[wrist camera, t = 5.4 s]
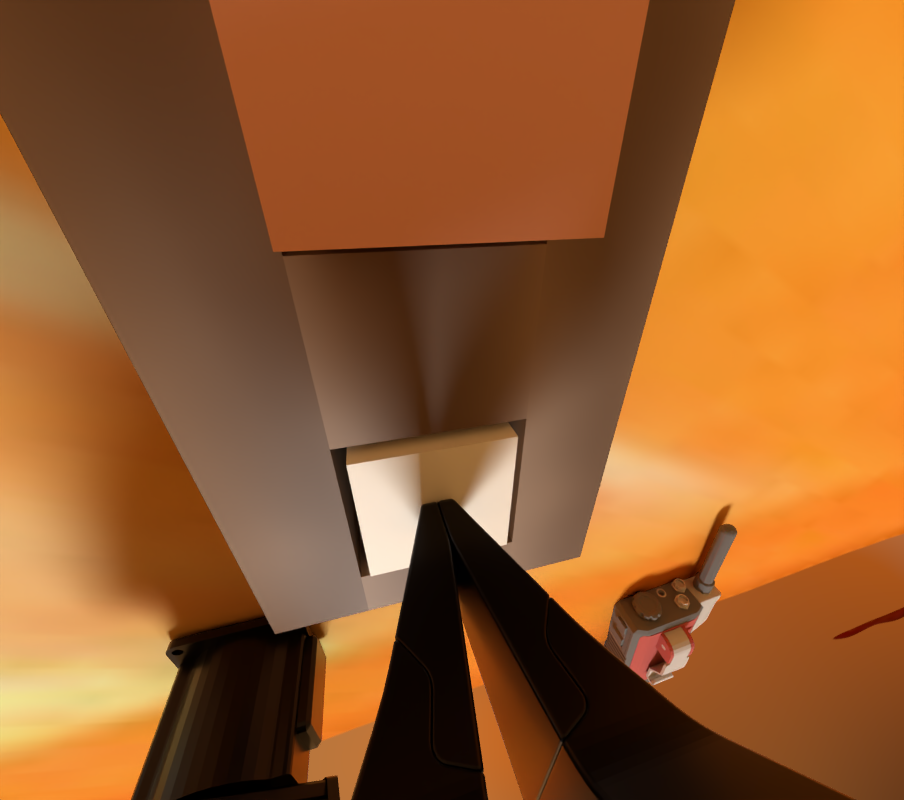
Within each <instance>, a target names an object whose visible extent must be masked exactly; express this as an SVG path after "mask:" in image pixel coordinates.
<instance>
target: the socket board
mask: <svg viewBox="0 0 904 800" xmlns="http://www.w3.org/2000/svg"><path fill="white" fill-rule="evenodd" d="M734 3H735V0H649V6H648V11H647V16H646V21H645V27H644V32H643V37H642V42H641V47H640V53H639V58H638V63H637V68H636V73H635V79H634V84H633V89H632V94H631V99H630V105H629V110H628V115H627V120H626V125H625V131H624V136H623V141H622V146H621V151H620V157H619V162H618V167H617V172H616V178H615V183H614V188H613V193H612V198H611V204H610V209H609V214H608V219H607V224H606V230H605V235H604V238H585V239H562V240H539V241H516V242H493V243H470V244H447V245H424V246H401V247H378V248H354V249H331V250H308V251H285V252H273V249H272V245H271V241H270V237H269V234H268V230H267V226H266V222H265V218H264V214H263V210H262V206H261V202H260V198H259V194H258V190H257V187H256V183H255V179H254V175H253V171H252V167H251V163H250V159H249V155H248V151H247V147H246V143H245V140H244V136H243V132H242V128H241V124H240V120H239V116H238V112H237V108H236V104H235V100H234V96H233V93H232V89H231V85H230V81H229V77H228V73H227V69H226V65H225V61H224V57H223V53H222V49H221V46H220V42H219V38H218V34H217V30H216V26H215V22H214V18H213V14H212V10H211V6H210V2H209V0H0V114H1V116H2V118H3V119H4V121H5V123H6V125H7V127H8V129H9V131H10V133H11V135H12V137H13V138H14V140H15V142H16V144H17V146H18V148H19V150H20V152H21V154H22V155H23V157H24V159H25V161H26V163H27V165H28V167H29V169H30V171H31V173H32V174H33V176H34V178H35V180H36V182H37V184H38V186H39V188H40V190H41V191H42V193H43V195H44V197H45V199H46V201H47V203H48V205H49V207H50V209H51V210H52V212H53V214H54V216H55V218H56V220H57V222H58V224H59V226H60V227H61V229H62V231H63V233H64V235H65V237H66V239H67V241H68V243H69V245H70V246H71V248H72V250H73V252H74V254H75V256H76V258H77V260H78V262H79V264H80V265H81V267H82V269H83V271H84V273H85V275H86V277H87V279H88V281H89V282H90V284H91V286H92V288H93V290H94V292H95V294H96V296H97V298H98V300H99V301H100V303H101V305H102V307H103V309H104V311H105V313H106V315H107V317H108V318H109V320H110V322H111V324H112V326H113V328H114V330H115V332H116V334H117V336H118V337H119V339H120V341H121V343H122V345H123V347H124V349H125V351H126V353H127V354H128V356H129V358H130V360H131V362H132V364H133V366H134V368H135V370H136V372H137V373H138V375H139V377H140V379H141V381H142V383H143V385H144V387H145V389H146V390H147V392H148V394H149V396H150V398H151V400H152V402H153V404H154V406H155V408H156V409H157V411H158V413H159V415H160V417H161V419H162V421H163V423H164V425H165V426H166V428H167V430H168V432H169V434H170V436H171V438H172V440H173V442H174V444H175V445H176V447H177V449H178V451H179V453H180V455H181V457H182V459H183V461H184V462H185V464H186V466H187V468H188V470H189V472H190V474H191V476H192V478H193V480H194V481H195V483H196V485H197V487H198V489H199V491H200V493H201V495H202V497H203V498H204V500H205V502H206V504H207V506H208V508H209V510H210V512H211V514H212V516H213V517H214V519H215V521H216V523H217V525H218V527H219V529H220V531H221V533H222V534H223V536H224V538H225V540H226V542H227V544H228V546H229V548H230V550H231V552H232V553H233V555H234V557H235V559H236V561H237V563H238V565H239V567H240V569H241V570H242V572H243V574H244V576H245V578H246V580H247V582H248V584H249V586H250V588H251V589H252V591H253V593H254V595H255V597H256V599H257V601H258V603H259V605H260V606H261V608H262V610H263V612H264V614H265V616H266V618H267V620H268V622H269V624H270V625H271V627H272V629H273V631H274V633H275V634H278V633H282V632H286V631H290V630H294V629H298V628H302V627H306V626H310V625H314V624H317V623H321V622H325V621H329V620H333V619H337V618H341V617H345V616H349V615H353V614H357V613H361V612H365V611H369V610H372V609H376V608H380V607H384V606H388V605H392V604H396V603H400V602H402V601H403V596H404V591H405V585H406V580H407V575H408V570H409V568H405V569H400V570H396V571H392V572H388V573H383V574H379V575H375V576H370V571H369V566H368V562H367V557H366V553H365V548H364V544H363V539H362V535H361V530H360V525H359V521H358V516H357V512H356V507H355V503H354V498H353V494H352V489H351V484H350V480H349V475H348V471H347V466H346V456H347V447H350V446H357V445H363V444H369V443H376V442H382V441H389V440H395V439H401V438H408V437H414V436H420V435H427V434H433V433H439V432H446V431H452V430H458V429H465V428H471V427H478V426H484V425H490V424H497V423H503V422H508V423H509V424H510V426H511V427H512V429H513V430H514V431H515V433H516V434H517V436H518V442H517V452H516V461H515V471H514V480H513V490H512V499H511V509H510V518H509V528H508V537H507V545H503V546H501V547H502V548H503V549H504V550H505V551H506V552H507V553H508V554H509V555H510V556H511V557H512V558H513V559H514V560H515V561H516V562H517V563H518V564H519V565H520V566H521V567H522V568H523V569H524V570H525V571H526V570H530V569H534V568H538V567H541V566H545V565H549V564H553V563H557V562H561V561H565V560H569V559H573V558H577V557H580V555H581V551H582V548H583V544H584V540H585V537H586V533H587V530H588V526H589V523H590V519H591V515H592V512H593V508H594V505H595V501H596V497H597V494H598V490H599V487H600V483H601V480H602V476H603V472H604V469H605V465H606V462H607V458H608V454H609V451H610V447H611V444H612V440H613V437H614V433H615V429H616V426H617V422H618V419H619V415H620V411H621V408H622V404H623V401H624V397H625V394H626V390H627V386H628V383H629V379H630V376H631V372H632V368H633V365H634V361H635V358H636V354H637V351H638V347H639V343H640V340H641V336H642V333H643V329H644V325H645V322H646V318H647V315H648V311H649V308H650V304H651V300H652V297H653V293H654V290H655V286H656V282H657V279H658V275H659V272H660V268H661V265H662V261H663V257H664V254H665V250H666V247H667V243H668V239H669V236H670V232H671V229H672V225H673V222H674V218H675V214H676V211H677V207H678V204H679V200H680V196H681V193H682V189H683V186H684V182H685V179H686V175H687V171H688V168H689V164H690V161H691V157H692V153H693V150H694V146H695V143H696V139H697V136H698V132H699V128H700V125H701V121H702V118H703V114H704V110H705V107H706V103H707V100H708V96H709V93H710V89H711V85H712V82H713V78H714V75H715V71H716V67H717V64H718V60H719V57H720V53H721V50H722V46H723V42H724V39H725V35H726V32H727V28H728V24H729V21H730V17H731V14H732V10H733V7H734Z"/></svg>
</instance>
